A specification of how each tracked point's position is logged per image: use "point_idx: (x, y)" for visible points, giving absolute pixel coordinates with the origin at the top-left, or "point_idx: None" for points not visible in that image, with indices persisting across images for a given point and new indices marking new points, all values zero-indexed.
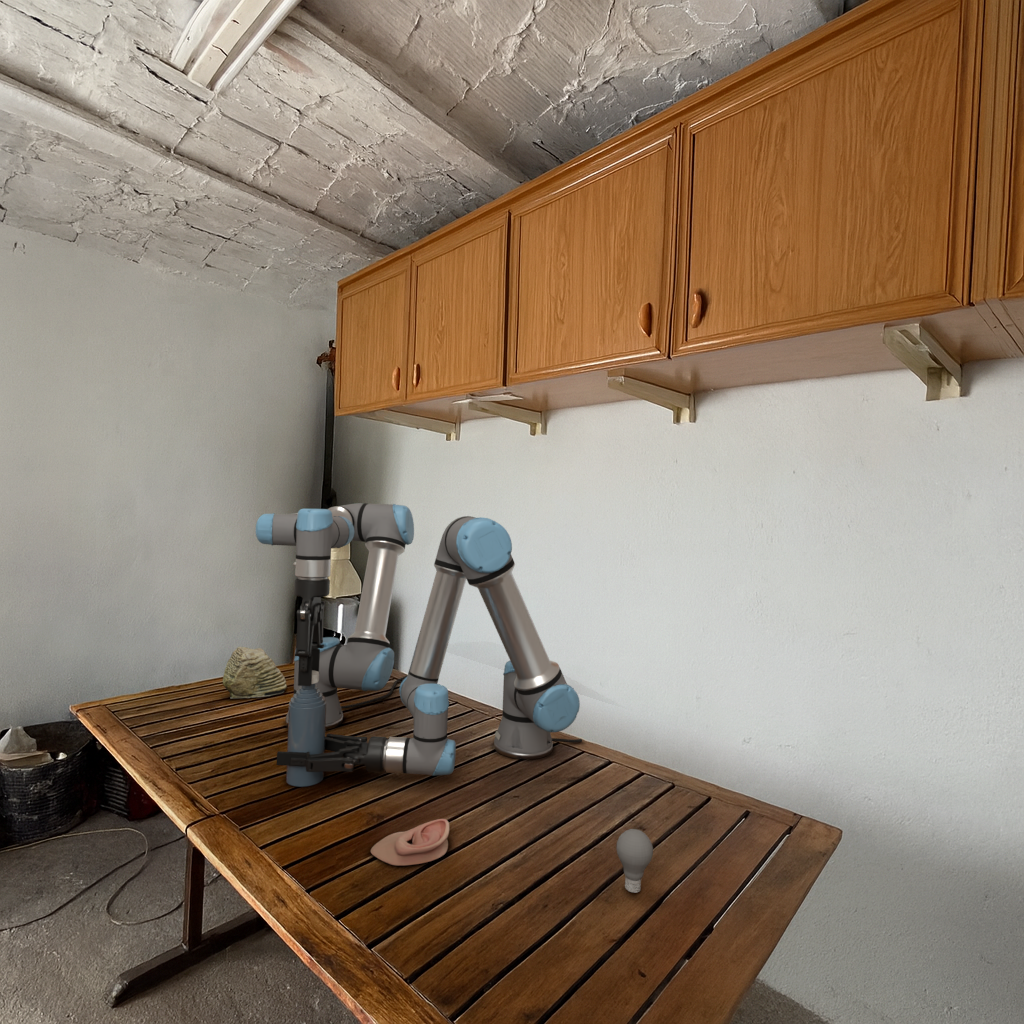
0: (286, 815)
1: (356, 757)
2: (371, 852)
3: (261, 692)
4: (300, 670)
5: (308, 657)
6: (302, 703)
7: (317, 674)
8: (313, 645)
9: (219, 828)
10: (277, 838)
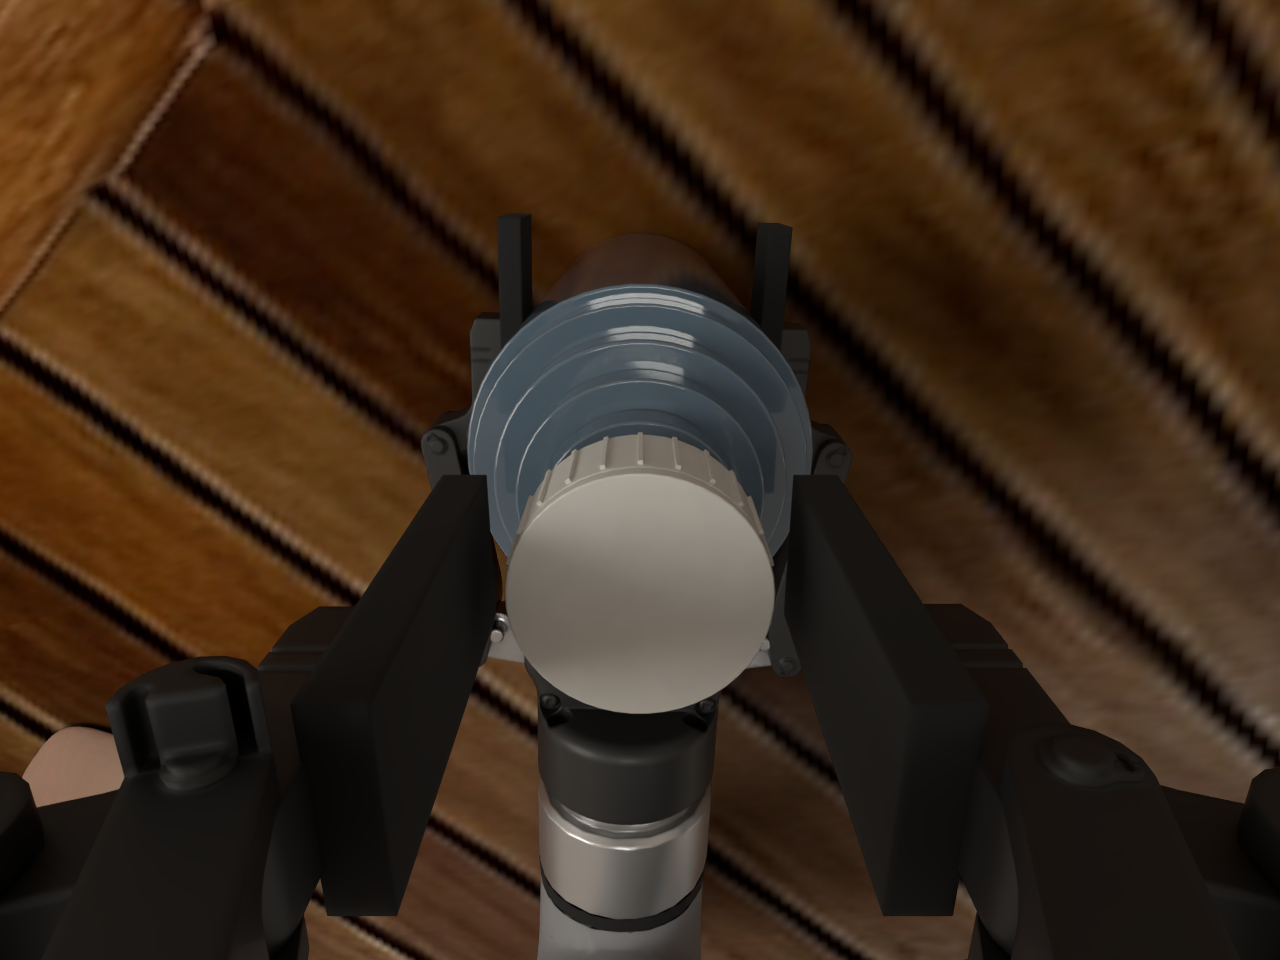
0: (262, 356)
1: (525, 666)
2: (58, 732)
3: None
4: (306, 620)
5: (324, 852)
6: (487, 462)
7: (607, 704)
8: (1002, 868)
9: (75, 81)
10: (72, 380)
